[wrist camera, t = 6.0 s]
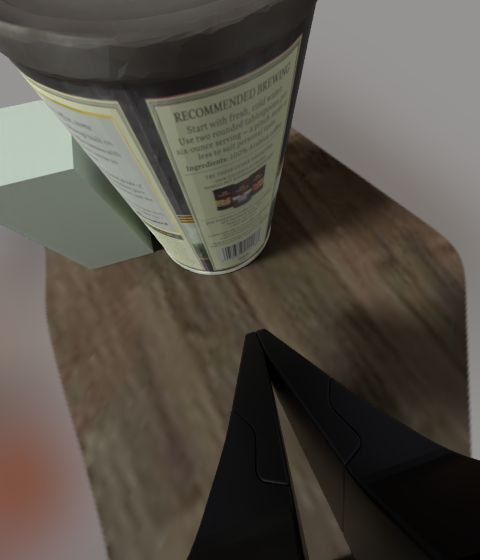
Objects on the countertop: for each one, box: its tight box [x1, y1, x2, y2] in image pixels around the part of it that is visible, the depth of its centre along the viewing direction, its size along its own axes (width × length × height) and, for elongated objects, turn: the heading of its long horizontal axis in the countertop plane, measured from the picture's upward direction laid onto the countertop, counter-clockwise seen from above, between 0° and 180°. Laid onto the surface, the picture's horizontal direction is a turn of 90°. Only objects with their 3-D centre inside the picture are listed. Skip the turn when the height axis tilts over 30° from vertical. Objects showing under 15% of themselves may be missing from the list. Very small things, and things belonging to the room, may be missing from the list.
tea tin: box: [0, 100, 154, 270], centre depth 15 cm, size 6×6×9 cm
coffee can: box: [0, 0, 317, 275], centre depth 12 cm, size 10×10×14 cm
